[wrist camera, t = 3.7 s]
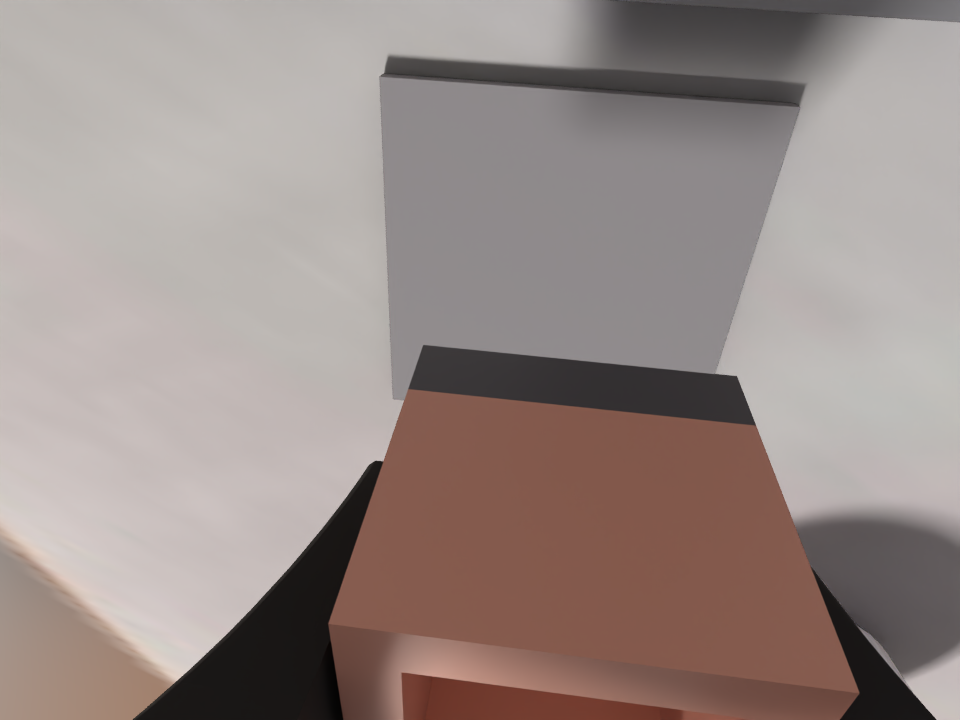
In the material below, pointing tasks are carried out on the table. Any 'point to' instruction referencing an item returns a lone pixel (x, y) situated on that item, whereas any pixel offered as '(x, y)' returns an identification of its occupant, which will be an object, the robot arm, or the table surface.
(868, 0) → the pin board
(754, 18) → the table surface
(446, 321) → the mat
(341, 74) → the table surface
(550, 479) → the sleeve
